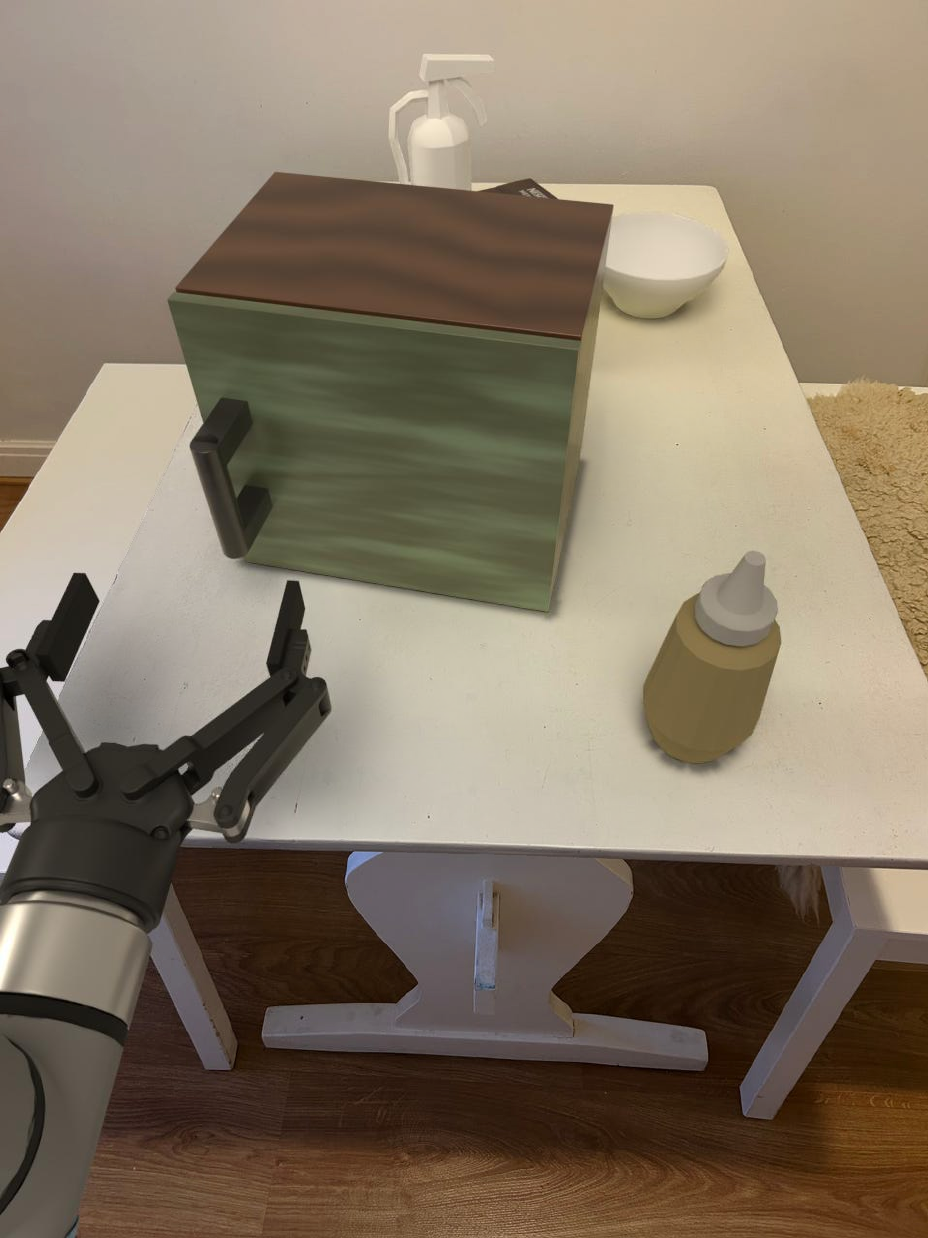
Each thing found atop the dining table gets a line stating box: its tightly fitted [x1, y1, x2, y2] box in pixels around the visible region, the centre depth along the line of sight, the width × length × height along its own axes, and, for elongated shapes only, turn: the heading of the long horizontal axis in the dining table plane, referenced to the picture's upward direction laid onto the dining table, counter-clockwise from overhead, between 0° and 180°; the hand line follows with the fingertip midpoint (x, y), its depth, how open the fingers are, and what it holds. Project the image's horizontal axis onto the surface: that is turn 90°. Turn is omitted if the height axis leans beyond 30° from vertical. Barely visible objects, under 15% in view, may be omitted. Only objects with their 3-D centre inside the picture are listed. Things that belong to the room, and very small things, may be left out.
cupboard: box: [174, 171, 614, 602], centre depth 67 cm, size 18×26×24 cm
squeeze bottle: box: [642, 550, 782, 764], centre depth 54 cm, size 8×8×18 cm
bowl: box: [603, 211, 730, 320], centre depth 96 cm, size 16×16×7 cm
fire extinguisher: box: [387, 53, 496, 191], centre depth 90 cm, size 7×12×25 cm, turn 104°
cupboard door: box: [166, 291, 581, 613], centre depth 59 cm, size 7×26×24 cm, turn 77°
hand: (191, 590), depth 54 cm, fingers open, 13 cm apart
